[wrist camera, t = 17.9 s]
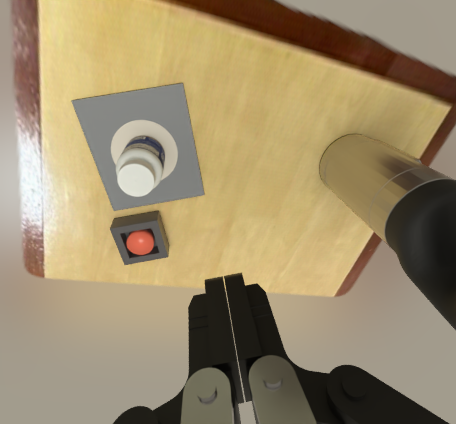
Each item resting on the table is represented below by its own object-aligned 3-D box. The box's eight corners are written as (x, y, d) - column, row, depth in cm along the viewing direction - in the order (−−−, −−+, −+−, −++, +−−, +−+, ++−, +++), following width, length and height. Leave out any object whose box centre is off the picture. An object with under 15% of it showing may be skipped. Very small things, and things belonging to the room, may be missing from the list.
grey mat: (182, 83, 37) (182, 83, 36) (204, 193, 45) (204, 195, 44) (72, 100, 36) (71, 100, 36) (114, 209, 44) (113, 211, 44)
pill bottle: (157, 177, 42) (151, 209, 33) (120, 162, 40) (104, 192, 32) (171, 143, 40) (168, 169, 31) (133, 127, 38) (119, 149, 30)
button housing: (158, 210, 45) (157, 220, 43) (169, 246, 49) (168, 257, 46) (114, 218, 45) (109, 228, 42) (127, 253, 48) (124, 265, 46)
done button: (151, 224, 45) (149, 231, 43) (157, 244, 47) (156, 252, 45) (125, 228, 45) (123, 236, 43) (133, 249, 47) (131, 256, 45)
